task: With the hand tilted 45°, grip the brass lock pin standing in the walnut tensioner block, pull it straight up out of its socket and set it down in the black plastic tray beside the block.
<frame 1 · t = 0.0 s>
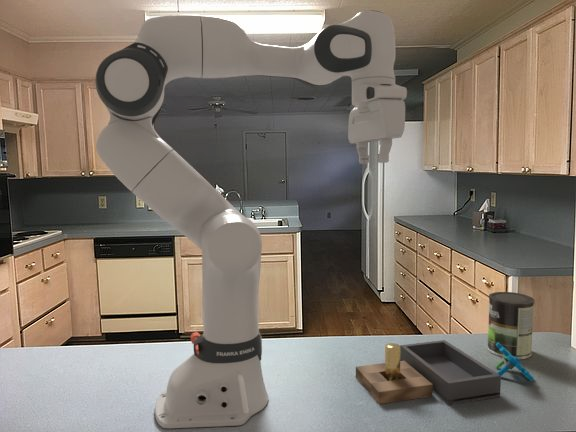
hand: (373, 163, 95), 48 cm above the countertop, tool pointing down, fingers open, 8 cm apart
lock pin: (392, 366, 97), in the tensioner block
coffee can: (509, 351, 115), on the countertop
blue notched toy part: (512, 377, 101), on the countertop
tensioner block: (392, 386, 97), on the countertop
tray: (445, 378, 100), on the countertop
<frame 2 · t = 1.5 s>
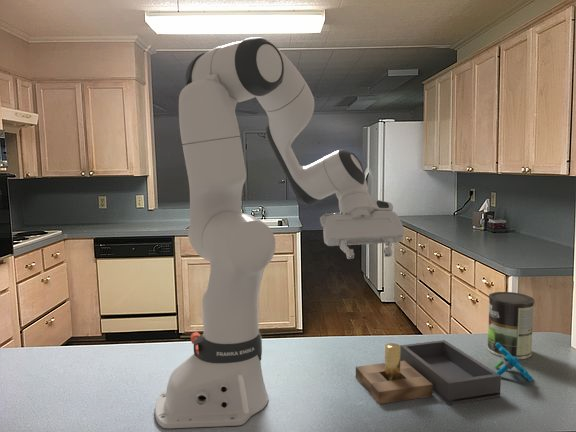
hand: (369, 256, 109), 26 cm above the countertop, tool tilted 45°, fingers open, 8 cm apart
nothing on the countertop moved.
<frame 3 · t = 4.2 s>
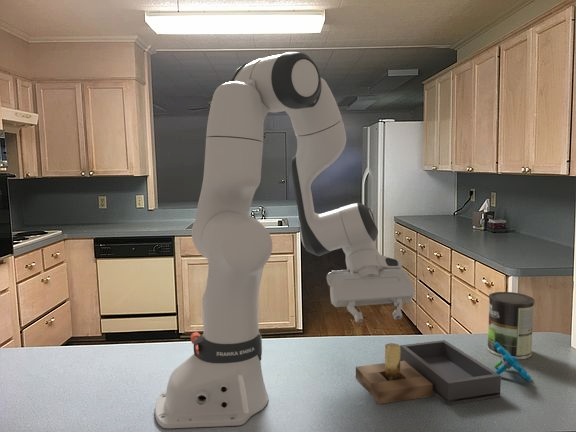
hand: (379, 319, 104), 12 cm above the countertop, tool tilted 45°, fingers open, 8 cm apart
nothing on the countertop moved.
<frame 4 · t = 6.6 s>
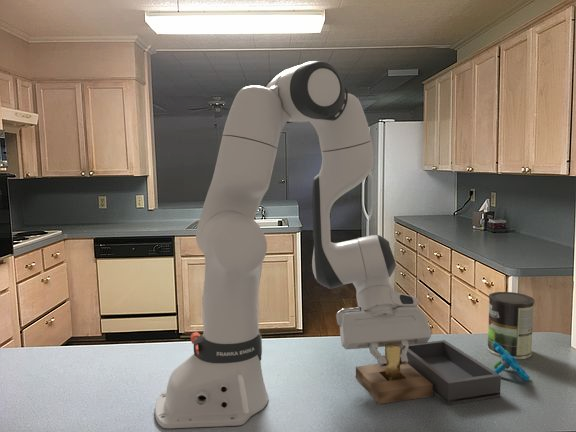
hand: (393, 364, 96), 5 cm above the countertop, tool tilted 45°, fingers closed on lock pin, 3 cm apart
lock pin: (392, 366, 97), in the tensioner block, touching gripper
everything else where it was.
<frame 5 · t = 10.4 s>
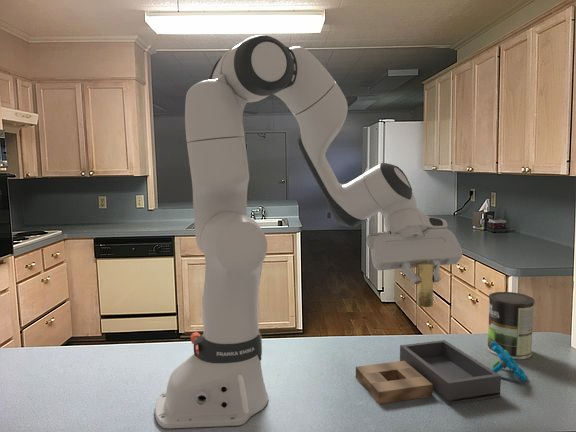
hand: (426, 282, 97), 22 cm above the countertop, tool tilted 45°, fingers closed on lock pin, 3 cm apart
lock pin: (425, 284, 97), point 22 cm above the countertop, touching gripper
when the fingers open (8 cm above the countertop, at t = 13.7 s): lock pin drops 2 cm, resting on tray.
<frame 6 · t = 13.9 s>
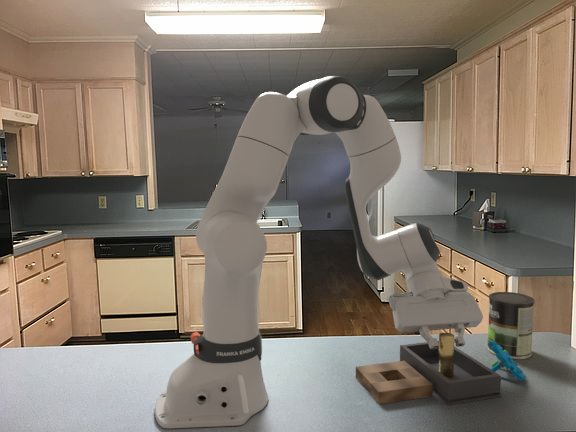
hand: (447, 346, 99), 8 cm above the countertop, tool tilted 45°, fingers open, 5 cm apart
lock pin: (446, 354, 100), in the tray, point 6 cm above the countertop
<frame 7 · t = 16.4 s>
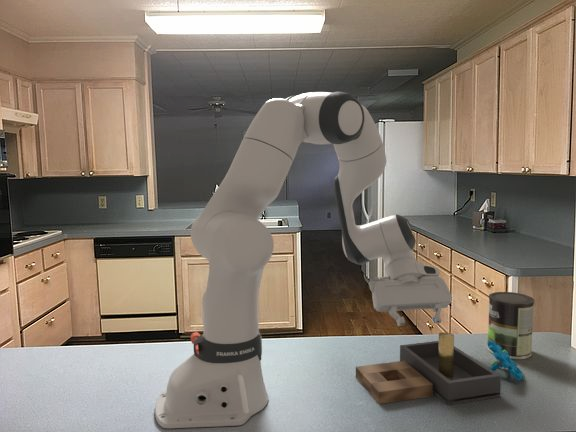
hand: (419, 323, 112), 8 cm above the countertop, tool tilted 45°, fingers open, 8 cm apart
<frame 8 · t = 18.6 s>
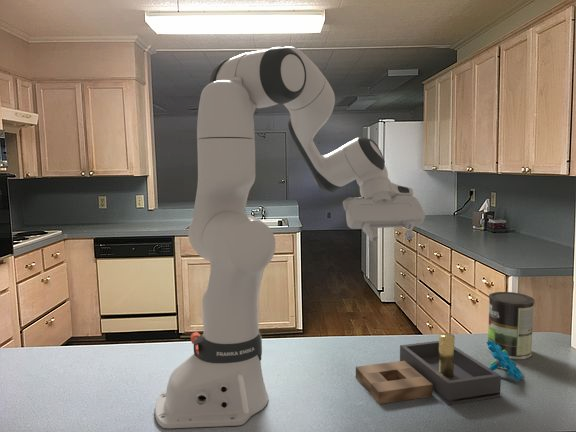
hand: (392, 238, 112), 29 cm above the countertop, tool tilted 45°, fingers open, 8 cm apart
at the end: lock pin inside the target area on the tray (0.1 cm from its centre), point 5.6 cm above the tray's base; the gripper is holding nothing; lock pin moved 13.0 cm from its start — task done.
